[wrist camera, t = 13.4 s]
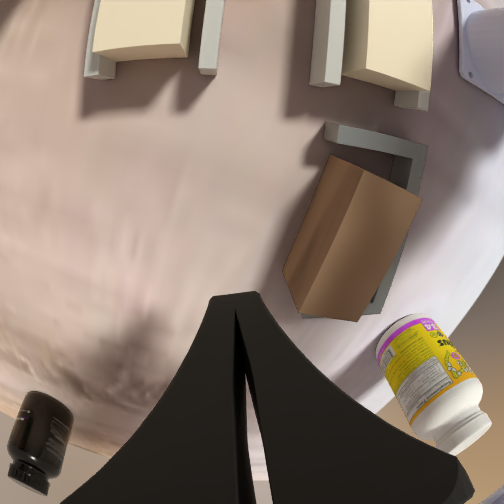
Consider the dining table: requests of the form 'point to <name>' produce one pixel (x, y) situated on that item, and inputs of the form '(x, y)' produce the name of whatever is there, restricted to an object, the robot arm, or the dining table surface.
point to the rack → (323, 52)
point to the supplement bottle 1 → (39, 442)
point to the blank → (347, 241)
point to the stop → (403, 174)
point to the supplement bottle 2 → (432, 383)
